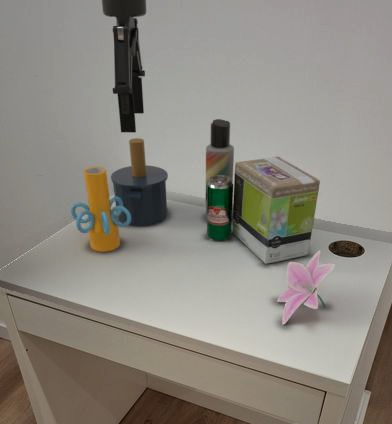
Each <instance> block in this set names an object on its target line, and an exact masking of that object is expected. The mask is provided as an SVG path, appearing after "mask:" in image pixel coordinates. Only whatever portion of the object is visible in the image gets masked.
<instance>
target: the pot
mask: <svg viewBox="0 0 392 424" xmlns="http://www.w3.org/2000/svg"><path fill="white" fill-rule="evenodd" d="M166 181H167V180H166ZM166 181H165V182H164V183H162V184H160V185H157V186H154V187H149V188H140V189H133V188H124V187H120V186H117V185H115V184H114V183H113V182H112V186H113V193H114V194H113V195H114V197H119V198H121V200H122V201H123V207H125V208H126V209H127V210H128V211H129V212H130V214H131V222H130V224H129V225H128V226H130V227H140V228H141V227H150V226H154V225H157V224H160V223H162V222H163V221H165V220H166V219H167V217H168V204H167V203H168V202H167V201H168V200H167V182H166ZM114 203H115V206H119V202H118V201H114ZM117 212H118V210H117V211H116V213H117ZM117 221H118V222H120V223H125V222H126V221H127V215H126V214H125V213H124V212H123V211H122V213H121V215H120V216H119V217H117Z"/></svg>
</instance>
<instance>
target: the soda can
mask: <svg viewBox="0 0 392 424" xmlns="http://www.w3.org/2000/svg"><path fill="white" fill-rule="evenodd" d="M233 199H234V182H233V183H232V179H231V178H230V177H229V176H225V175H215V176H212V177H210V178H209V182H208V183H207V219H206V236H207V237H208V238H209V239H210V240H211V241H215V242H223V241H226V240H228V239H229V238H230V237H232V218H233Z"/></svg>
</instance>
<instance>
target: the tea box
mask: <svg viewBox="0 0 392 424" xmlns="http://www.w3.org/2000/svg"><path fill="white" fill-rule="evenodd" d="M320 183H321V180H319V178H317V177H315V176H313V175H311V174H310V173H308V172H306V171H304V170H303V169H301V168H299V167H298V166H296V165H294V164H292V163H291V162H289V161H287V160H285V159H283V158H282V157H280V156H272V157H271V156H270V157H265V158H258V159H250V160H243V161H237V162H234V175H233V206H232V229H231V233H232V234H234V236H236V237H237V238H238V240H240V241H241V242H242V243H243V244H244V245H245V246H246V247H247V248H248V249H249V250H250V251H251V252H253V253H254V254H255V255H256V256H257V257H258V258H259V259H260V260H261V261H262V262H263V263H264V264H271V263H277V262H281V261H287V260H292V259H295V258H300V257H305V256H308V254H309V252H310V247H311V241H312V233H313V228H314V221H315V215H316V210H317V204H318V203H317V202H318V197H319V190H320Z"/></svg>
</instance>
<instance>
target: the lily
mask: <svg viewBox="0 0 392 424" xmlns="http://www.w3.org/2000/svg"><path fill="white" fill-rule="evenodd" d="M321 253H322V249H319V250H318V251H316V252H315V254H314V255H313V256H312V257H311V259H310V260H309V261H308V263H307V265H304V264H302V263H299V262H295V261H289V262H288V263H287V266H286V282H287V285H288V287H287V288H286V289H284V290H283V292H281V294H280V295H279V296H278V298H277V299H276V302H277V303H285V304H284V307H283V311H282V317H281V319H282V320H281V324H282V325H283V326H284V325H285V324H286V323H287V322H288V321H289V320H290V318H291V317H292V315H294V313H295V311H296V310H297V309H298V308H299V307H300V306H301V305H304V306H306V307H308V308H310V309H314V310H317V309H318V307H319V300H320V302H321V304H322V306H323V308H326V305H325V302H324V300H323V298H322V297H321V296H320V294H318V289H317V287H318V285H319V284H320V283H322V281H323V280H324V279H325V278H326V276H328V275H329V274H330V273H331V272H332V271H333V270H334V269H335V268H336V265H335V264H334V263H322V264H320V258H321ZM318 299H319V300H318Z"/></svg>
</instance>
